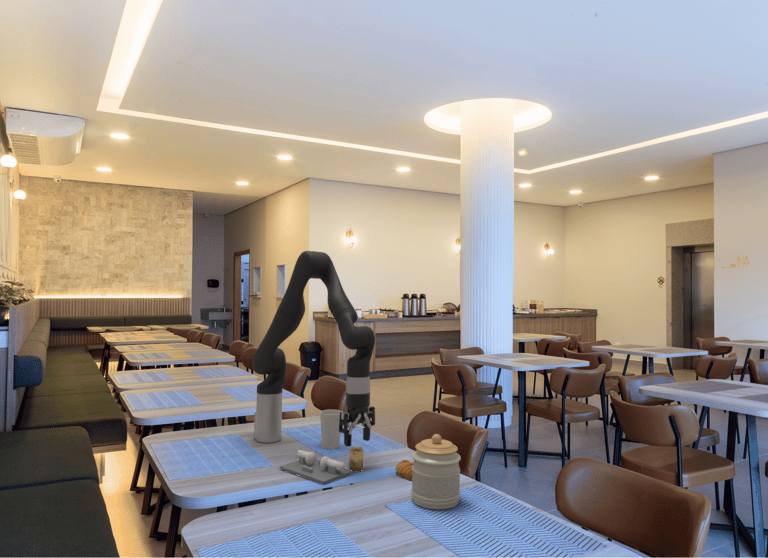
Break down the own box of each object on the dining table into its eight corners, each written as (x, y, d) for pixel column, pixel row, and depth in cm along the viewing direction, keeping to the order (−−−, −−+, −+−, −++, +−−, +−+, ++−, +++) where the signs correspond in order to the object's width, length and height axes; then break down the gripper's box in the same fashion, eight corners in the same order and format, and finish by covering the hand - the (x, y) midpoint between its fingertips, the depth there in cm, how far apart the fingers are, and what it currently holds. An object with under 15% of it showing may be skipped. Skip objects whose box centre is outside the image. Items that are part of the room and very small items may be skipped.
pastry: (427, 480, 159) (427, 467, 159) (407, 483, 156) (407, 470, 156) (411, 470, 168) (411, 457, 168) (392, 473, 165) (392, 460, 165)
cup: (343, 443, 194) (344, 410, 194) (339, 450, 186) (340, 415, 186) (321, 442, 195) (322, 409, 195) (317, 448, 187) (317, 414, 187)
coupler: (346, 469, 166) (346, 448, 166) (355, 466, 169) (356, 445, 170) (356, 473, 163) (357, 451, 163) (366, 469, 167) (366, 448, 167)
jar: (403, 495, 147) (404, 430, 147) (444, 488, 152) (445, 426, 152) (425, 513, 135) (426, 443, 135) (469, 506, 140) (470, 438, 140)
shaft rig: (279, 469, 165) (280, 452, 165) (308, 460, 174) (309, 444, 174) (323, 484, 153) (324, 467, 153) (352, 474, 162) (352, 457, 162)
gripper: (364, 386, 175) (363, 436, 174) (333, 392, 164) (332, 445, 163) (381, 389, 170) (381, 440, 170) (351, 395, 159) (350, 450, 158)
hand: (357, 443), depth 166 cm, fingers open, 8 cm apart
